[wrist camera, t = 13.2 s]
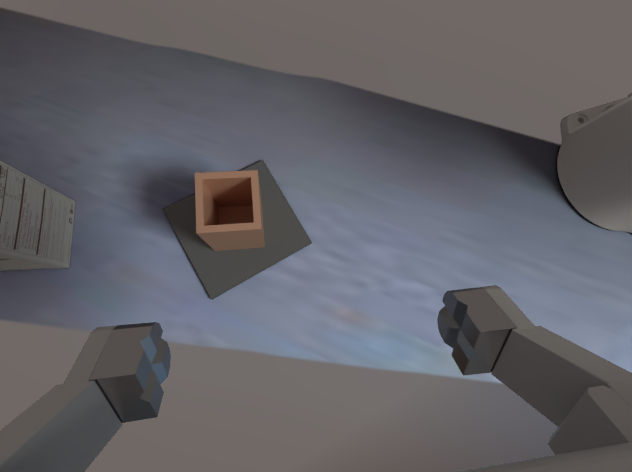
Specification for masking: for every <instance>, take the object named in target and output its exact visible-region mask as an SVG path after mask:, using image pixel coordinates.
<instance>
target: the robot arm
mask: <svg viewBox="0 0 632 472" xmlns="http://www.w3.org/2000/svg"><path fill="white" fill-rule="evenodd" d="M561 135H562V143H561V147H560V150H559V154H558V160H557V169H558V176H559V180H560V183H561V186H562V189H563V191H564V193H565V195H566V196H567V198H568V200H569V201H570V202H571V204H572V205H573V206H574V207H575V209H576V210H577V211H578V212H579V213H580V214H581V215H583V216H584V217H585V218H586V219H588V220H589V221H591V222H592V223H594V224H596V225H598V226H600V227H603V228H606V229H609V230H614V231H625V232H630V233H632V93H631V94H629V95H628V97H627V98H624V99H621V100H617V101H614V102H611V103H607V104H604V105H600V106H597V107H594V108H590V109H587V110H584V111H580V112H577V113H574V114H571V115H569V116H567V117H565V118H563V119H562V121H561ZM442 301H443V303H444V304H445V307H444V308H442V309H441V310H440V311H439V315H438V319H437V320H438V329H439V332H440V335H441V337H442V339H443V341H444V342H445V343H446V344H447V345H449V346H450V347H452V348H453V352H452V357H453V358H454V360H455V362H456V364H457V365H458V367H459V369H460V371H461V372H462V374H463V375H471V374H481V373H490V372H492V375H493V376H495V377H496V378H497V379H498V380H500V381H501V382H502V383H504V384H505V385H506V386H507V387H509V388H510V389H511V390H512V391H514V392H515V393H516V394H517V395H519V396H520V397H521V398H522V399H524V400H525V401H526V402H527V403H529V404H530V405H531V406H532V407H534V408H535V409H536V410H537V411H539V412H540V413H541V414H542V415H544V416H545V417H546V418H548V419H549V420H550V421H551V422H553V423H554V424H555V425H556V426H558V428H557V429H556V430H555V432H554V433H553V434H552V436H551V437H550V439H549V442H548V445H549V446H550V448H551V449H552V451H553V452H554V454H555V455H551V456H545V457H539V458H533V459H527V460H521V461H516V462H510V463H504V464H498V465H492V466H487V467H480V468H475V469H468V470H463V471H457V472H632V373H631V372H629V371H627V370H625V369H623V368H621V367H619V366H617V365H615V364H613V363H611V362H609V361H607V360H605V359H603V358H601V357H599V356H598V355H596V354H594V353H592V352H590V351H588V350H586V349H584V348H582V347H580V346H578V345H576V344H574V343H572V342H570V341H568V340H566V339H565V338H563V337H561V336H559V335H557V334H555V333H553V332H551V331H549V330H547V329H545V328H543V327H541V326H534V325H533V323H532V322H531V321H530V320H529V319H528V318H527V317H526V316H525V314H524V313H523V312H522V311H521V310H520V309H519V308H518V307H517V306H516V304H515V303H514V302H513V301H512V300H511V299H510V298H509V297H508V295H507V294H506V293H505V292H504V291H503V290H502V289H501V288H500V287H498V286H496V285H495V286H486V287H479V288H469V289H460V290H452V291H447V292H446V293H445V294H444V297H443V300H442ZM162 333H163V330H162V328H161V326H160V324H159V323H157V322H153V323H141V324H129V325H117V326H109V327H97V328H96V329H95V330H93V331H92V332H91V334H90V336H89V338H88V340H87V342H86V343H85V345H84V347H83V349H82V351H81V353H80V354H79V356H78V358H77V360H76V362H75V364H74V366H73V368H72V369H71V371H70V373H69V375H68V377H67V378H66V380H65V382H64V384H62V385H56V386H55V387H54V388H53V389H51V390H50V391H49V392H48V393H46V394H45V395H44V396H43V397H41V398H40V399H39V400H38V401H36V402H35V403H34V404H33V405H32V406H30V407H29V408H28V409H27V410H25V411H24V412H23V413H22V414H20V415H19V416H18V417H17V418H15V419H14V420H13V421H12V422H11V423H9V424H8V425H7V426H5V427H4V428H3V429H2V430H1V431H0V472H85V470H86V469H87V468H88V467H89V465H90V464H91V463H92V462H93V461H94V459H95V458H96V457H97V456H98V454H99V453H100V452H101V451H102V449H103V448H104V447H105V446H106V444H107V443H108V442H109V441H110V440H111V438H112V437H113V436H114V435H115V433H116V432H117V431H118V430H119V428H120V427H121V426H122V423H125V422H131V421H136V420H143V419H148V418H155V417H157V416H158V412H159V408H160V405H161V401H162V397H163V393H164V392H163V390H162V387H161V383H162V382H163V381H164V380H165V379H166V378H167V377H168V374H169V369H170V358H171V355H170V349H169V346H168V343H167V342H166V341H164V340H163V339H161V336H162Z"/></svg>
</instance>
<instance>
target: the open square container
mask: <svg viewBox="0 0 632 472" xmlns="http://www.w3.org/2000/svg"><path fill="white" fill-rule="evenodd" d="M195 201H196V234H197V235H199V236H200V237H201V238H202V239H203V240H204V241H205V242H206V243H207V244H208V245H209V246H210V247H211V248H212V249H213V250H215V251H223V250H236V249H249V248H262V247H265V240H264V226H263V212H262V199H261V192H260V184H259V177H258V170H250V171H228V172H206V173H195Z"/></svg>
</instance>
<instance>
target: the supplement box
mask: <svg viewBox="0 0 632 472" xmlns="http://www.w3.org/2000/svg"><path fill="white" fill-rule="evenodd" d="M74 215H75V201H74V200H72V199H70V198H69V197H67V196H65V195H63V194H61V193H59V192H57V191H55V190H53V189H52V188H50V187H48V186H46V185H44V184H43V183H41V182H39V181H37V180H35V179H33V178H32V177H30V176H28V175H26V174H24V173H22V172H20V171H19V170H17V169H15V168H13V167H11V166H9V165H8V164H6V163H4V162H2V161H0V271H6V270H21V269H47V268H69V265H70V258H71V248H72V237H73V226H74Z"/></svg>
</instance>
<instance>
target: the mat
mask: <svg viewBox="0 0 632 472" xmlns="http://www.w3.org/2000/svg"><path fill="white" fill-rule="evenodd" d="M250 170H258V177H259V184H260V192H261V199H262V212H263V226H264V240H265V247H262V248H249V249H236V250H223V251H215V250H213V249H212V248H211V247H210V246H209V245H208V244H207V243H206V242H205V241H204V240H203V239H202V238H201V237H200V236H199V235H197V234H196V201H195V193H194V194H192V195H190V196H188V197H186V198H184V199H182V200H179V201H177V202H175V203H173V204H171V205H169V206H167V207H165V208H163V210H164V212H165V214H166V216H167V218H168V219H169V221H170V223H171V225H172V227H173V229H174V231H175V233H176V234H177V236H178V238H179V240H180V242H181V244H182V246H183V247H184V249H185V251H186V253H187V255H188V257H189V259H190V261H191V262H192V264H193V266H194V268H195V270H196V272H197V274H198V275H199V277H200V279H201V281H202V283H203V285H204V287H205V288H206V290H207V292H208V294H209V296H210V298H211V299H214V298H215V297H217V296H219V295H221V294H223V293H224V292H226V291H228V290H230V289H231V288H233V287H235V286H237V285H238V284H240V283H242V282H244V281H246V280H247V279H249V278H251V277H253V276H254V275H256V274H258V273H260V272H261V271H263V270H265V269H267V268H269V267H270V266H272V265H274V264H276V263H277V262H279V261H281V260H283V259H284V258H286V257H288V256H290V255H292V254H293V253H295V252H297V251H299V250H300V249H302V248H304V247H306V246H307V245H309V244H311V243H312V242H311V240H310V239H309V237H308V235H307V234H306V232H305V230H304V229H303V227H302V225H301V223H300V222H299V220H298V218H297V217H296V215H295V213H294V212H293V210H292V208H291V207H290V205H289V203H288V202H287V200H286V198H285V196H284V195H283V193H282V191H281V190H280V188H279V186H278V185H277V183H276V181H275V180H274V178H273V176H272V175H271V173H270V171H269V170H268V168H267V166H266V164H265V163H264V161H263V160H262V161H260V162H257V163H255V164H253V165H251V166H249V167H247V168H245V169H243V170H241V171H250Z"/></svg>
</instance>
